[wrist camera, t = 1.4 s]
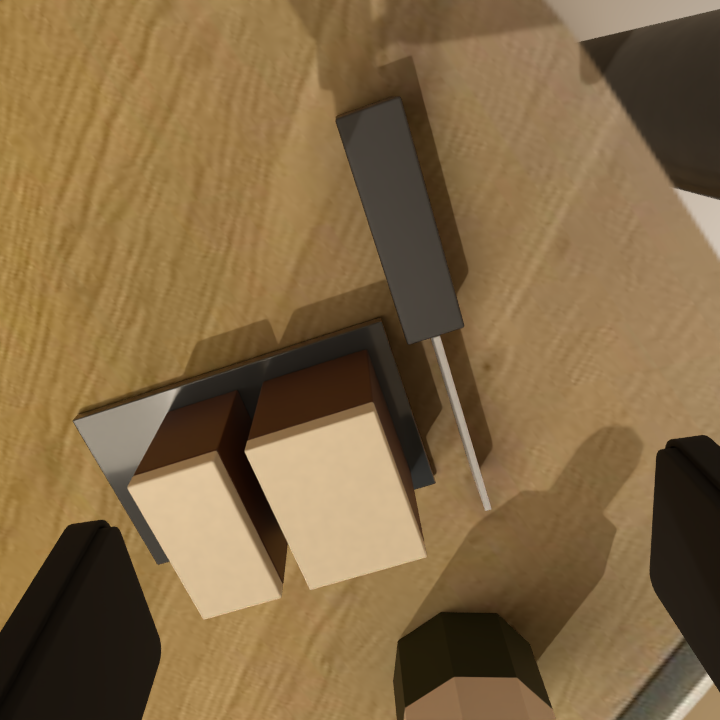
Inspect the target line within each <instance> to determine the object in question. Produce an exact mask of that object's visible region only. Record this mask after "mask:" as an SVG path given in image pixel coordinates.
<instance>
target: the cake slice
mask: <svg viewBox="0 0 720 720" xmlns="http://www.w3.org/2000/svg"><path fill="white" fill-rule="evenodd" d="M251 425H252V421H251V419H250V416H249V414H248V412H247V410H246V408H245V406H244V403H243V401H242V399H241V397H240V395H239V392H238V391H237V390H236V391H232V392H229V393H226V394H223V395H220V396H217V397H214V398H210V399H207V400H204V401H201V402H198V403H195V404H192V405H188V406H185V407H182V408H179V409H176V410H173V411H170V412H167V414H166V416H165V418H164V420H163V421H162V423H161V425H160V427H159V429H158V431H157V432H156V434H155V436H154V438H153V440H152V442H151V444H150V445H149V447H148V449H147V451H146V453H145V455H144V456H143V458H142V460H141V462H140V464H139V466H138V468H137V469H136V471H135V473H134V476H133V477H132V479H131V481H130V483H129V485H128V487H127V488H128V490H129V492H130V494H131V496H132V497H133V499H134V501H135V502H136V504H137V506H138V508H139V509H140V511H141V513H142V514H143V516H144V518H145V520H146V521H147V523H148V525H149V527H150V528H151V530H152V532H153V533H154V535H155V537H156V539H157V540H158V542H159V544H160V546H161V547H162V549H163V551H164V552H165V554H166V556H167V558H168V559H169V561H170V563H171V564H172V566H173V568H174V570H175V571H176V573H177V575H178V577H179V578H180V580H181V582H182V583H183V585H184V587H185V589H186V590H187V592H188V594H189V595H190V597H191V599H192V601H193V602H194V604H195V606H196V608H197V609H198V611H199V613H200V614H201V616H202V618H203V619H208V618H212V617H215V616H219V615H222V614H226V613H230V612H233V611H237V610H240V609H244V608H247V607H251V606H254V605H258V604H261V603H265V602H268V601H272V600H276V599H279V598H281V597H282V588H283V581H284V572H285V563H286V554H287V545H288V542H287V540H286V538H285V536H284V534H283V532H282V530H281V528H280V525H279V523H278V521H277V519H276V517H275V515H274V513H273V511H272V509H271V507H270V504H269V502H268V500H267V498H266V496H265V494H264V492H263V490H262V488H261V485H260V483H259V481H258V479H257V477H256V475H255V473H254V471H253V469H252V466H251V464H250V462H249V460H248V458H247V456H246V454H245V447H246V443H247V441H248V437H249V433H250V429H251Z"/></svg>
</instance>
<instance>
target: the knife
mask: <svg viewBox="0 0 720 720" xmlns="http://www.w3.org/2000/svg"><path fill="white" fill-rule="evenodd" d="M336 124H337V127H338V130H339V134H340V137H341V140H342V143H343V146H344V149H345V152H346V155H347V158H348V161H349V165H350V168H351V171H352V174H353V177H354V180H355V183H356V186H357V189H358V192H359V196H360V199H361V202H362V205H363V208H364V211H365V214H366V217H367V220H368V224H369V227H370V230H371V233H372V236H373V239H374V242H375V245H376V248H377V251H378V255H379V258H380V261H381V264H382V267H383V270H384V273H385V276H386V279H387V282H388V286H389V289H390V292H391V295H392V298H393V301H394V304H395V307H396V310H397V313H398V317H399V320H400V323H401V326H402V329H403V332H404V335H405V338H406V341H407V344H408V345H409V344H413V343H416V342H419V341H422V340H426V339H429V338H431V341H432V344H433V347H434V351H435V354H436V357H437V360H438V364H439V367H440V370H441V374H442V377H443V380H444V383H445V387H446V390H447V393H448V397H449V400H450V403H451V406H452V410H453V413H454V416H455V420H456V423H457V426H458V429H459V433H460V436H461V439H462V442H463V446H464V449H465V452H466V456H467V459H468V462H469V465H470V469H471V472H472V475H473V478H474V481H475V484H476V486H477V489H478V492H479V495H480V497H481V500H482V503H483V506H484V509H485V511H487V510H490V509H491V505H490V502H489V499H488V495H487V492H486V489H485V485H484V482H483V479H482V475H481V472H480V468H479V465H478V462H477V458H476V455H475V452H474V448H473V445H472V442H471V438H470V435H469V431H468V428H467V425H466V421H465V418H464V415H463V411H462V408H461V405H460V401H459V398H458V395H457V391H456V388H455V384H454V381H453V378H452V374H451V371H450V368H449V364H448V361H447V358H446V354H445V351H444V348H443V344H442V341H441V337H440V335H441V334H444V333H448V332H451V331H454V330H457V329H460V328H463V327H464V322H463V319H462V315H461V312H460V308H459V304H458V301H457V297H456V294H455V290H454V286H453V283H452V279H451V276H450V272H449V268H448V265H447V261H446V258H445V254H444V250H443V247H442V243H441V240H440V236H439V233H438V229H437V225H436V222H435V218H434V215H433V211H432V207H431V204H430V200H429V197H428V193H427V189H426V186H425V182H424V179H423V175H422V171H421V168H420V164H419V161H418V157H417V154H416V150H415V146H414V143H413V139H412V136H411V132H410V128H409V125H408V121H407V118H406V114H405V110H404V107H403V103H402V100H401V97H399V96H395V97H389V98H386V99H383V100H381V101H378V102H375V103H372V104H369V105H367V106H364V107H361V108H358V109H355V110H353V111H350V112H347V113H344V114H341V115H339V116H337V117H336Z"/></svg>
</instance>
